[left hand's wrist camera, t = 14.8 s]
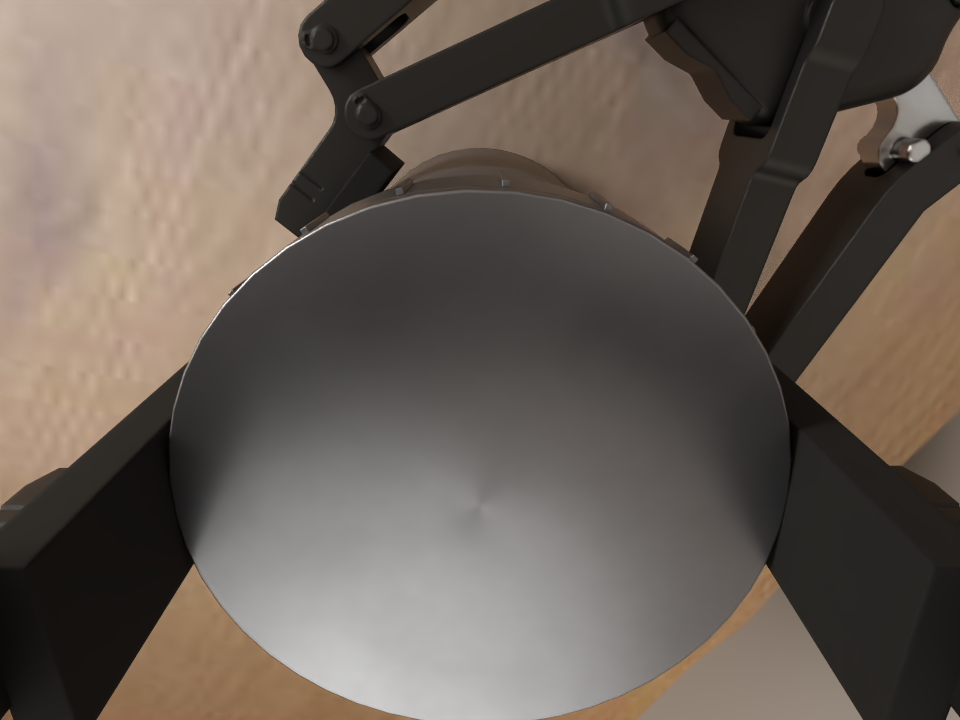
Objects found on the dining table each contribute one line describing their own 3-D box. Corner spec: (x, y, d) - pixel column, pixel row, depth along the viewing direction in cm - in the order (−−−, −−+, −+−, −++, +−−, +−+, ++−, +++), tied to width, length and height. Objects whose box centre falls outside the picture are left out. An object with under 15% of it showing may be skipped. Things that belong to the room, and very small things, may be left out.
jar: (453, 412, 28) (423, 747, 13) (317, 239, 25) (92, 425, 10) (636, 296, 26) (838, 541, 11) (511, 95, 23) (566, 80, 8)
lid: (648, 681, 14) (673, 764, 13) (195, 604, 13) (151, 681, 12) (838, 249, 11) (910, 278, 9) (233, 105, 10) (179, 106, 8)
